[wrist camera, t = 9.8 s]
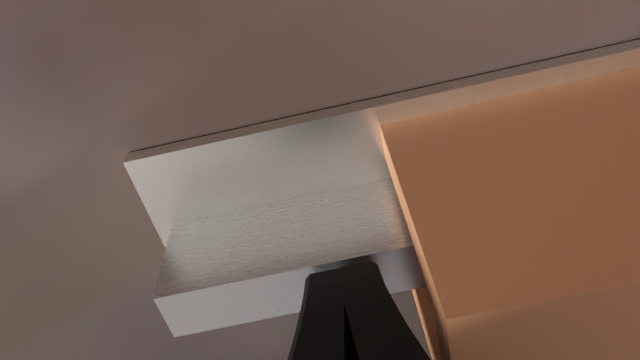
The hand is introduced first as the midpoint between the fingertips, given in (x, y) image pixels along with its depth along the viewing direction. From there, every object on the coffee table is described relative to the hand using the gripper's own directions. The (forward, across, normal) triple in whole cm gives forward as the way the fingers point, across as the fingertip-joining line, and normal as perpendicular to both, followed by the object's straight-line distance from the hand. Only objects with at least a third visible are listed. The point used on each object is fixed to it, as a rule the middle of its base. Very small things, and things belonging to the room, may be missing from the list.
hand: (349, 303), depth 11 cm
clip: (+3, -5, 0) cm, 6 cm away
